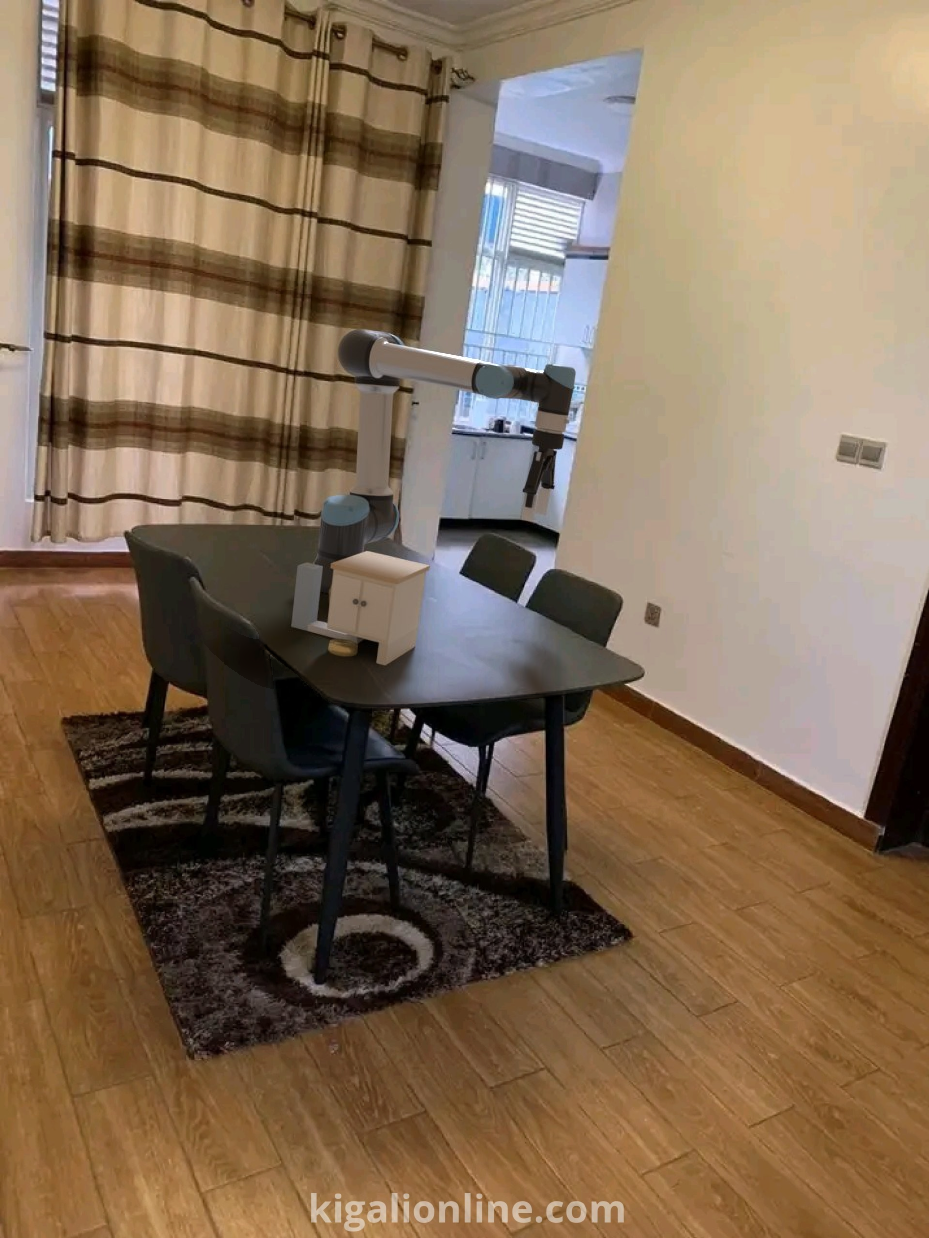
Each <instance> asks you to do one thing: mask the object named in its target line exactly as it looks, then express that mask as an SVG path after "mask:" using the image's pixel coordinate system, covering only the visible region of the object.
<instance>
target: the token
mask: <svg viewBox="0 0 929 1238" xmlns="http://www.w3.org/2000/svg"><path fill="white" fill-rule="evenodd" d="M358 647H359V643H356V642H354V641H351V640H347V639H336V638H332V639H331V640H329V643H328V652H329V653H330V654H332V655H334V656H338V657H345V658H347V657H355V656H357V654H358V649H359V648H358Z"/></svg>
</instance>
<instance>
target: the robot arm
mask: <svg viewBox="0 0 929 1238" xmlns="http://www.w3.org/2000/svg"><path fill="white" fill-rule="evenodd" d="M337 357H338V358H337V359H338V361H339V364H340V366H341V368H342V369H343V370H344V371H345V372H346V373H348V374H349V375H351V376H353V377H354V384H353V385H354V386H355V387H356V388H357V390H358V391H359V403H358V407H359V408H358V428H357V431H358V432H357V452H356V474H355V485H353V486H352V487H351V488H350V489H349V494H343V495H342V494H336V495H332V496H328V497H327V498H326V499H325V500H324V502H323V504H322V509H321V511H320V526H319V535H318V542H317V543H318V546H317V554H316V558H315V559H314V561H313V564H315V565H320V566H323V570H322V579H321V587H320V593H325V594H329V590H330V588H331V585H332V580H333V571H334V569H332V568H331V563H334V562H336V561H339V560H342V559H345V558H348V557H351V556H354V555H357V554H360V553H362V552H365V551H364V550H365V545H367V544H369V543H374V542H375V543H377V542H380V541H383V540H384V539H386V538H388V537H390V536H391V535H393V533H394V532H395V531H396V529H397V527H398V525H399V522H400V513H399V509H398V506H397V505H396V503H395V502H394V491H393V490H392V489H391V488H390V487H389V480H390V479H389V478H390V477H389V476H390V457H391V438H392V422H393V421H392V419H393V418H392V417H393V402H394V401H393V399H394V393H396V392H397V391H398V390H399V389H400V381H401V379H402V380H407V381H410V382H411V381H412V382H416V383H422V384H426V385H432V386H436V387H441V388H445V389H446V388H447V389H451V390H456V391H461V392H466V393H469V394H470V393H472V394H476V395H480V396H484V397H486V398H489V399H495V400H497V399H499V400H500V399H513V400H514V399H515V400H520V401H521V400H522V401H526V402H532V403H537V404H538V407H537V412H536V416H535V417H536V418H535V422H534V427H535V428H536V429H534V430H533V433H532V439H531V444H532V446H535V447H538V451H534V452H533V455H532V457H533V458H532V460H531V463H530V464H531V465H530V468H529V471H528V475H527V478H526V482H525V485H524V487H523V488H522V493H524V495H525V496H524V500H523V501H524V502H523V507H522V512H521V518H520V520H521V521H527V522H531V523H532V522H533V521H534V516H535V514H539V515H543V516H546V515H547V513H548V512H547V511H548V506H549V500H550V497H551V496H550V495H551V490H555V487H556V486H555V485H554V484H555V473H556V458H557V454H558V452H557V451H559V450H562V449H563V446H564V440H565V434H564V432H566V431H567V430H566V429H567V425H569V424H570V423H571V422H570V420H569V419H568V418H569V413H570V408H571V403H572V399H573V393H574V389H575V380H576V373H577V372H576V370H575V367H572V366H567V365H560V364H554V363H546V364H545V366H544V369H543V370H542V369H541V370H540V369H538V370H537V369H533V368H528V367H522V366H517V365H513V364H504V363H503V364H501V363H496V362H489V361H485V360H479V359H473V358H470V357H469V358H468V357H464V356H459V355H453V354H447V353H442V352H438V351H432V350H428V349H422V348H416V347H411V346H406V345H405V344H404V342H403V341H402V340H401V339H400V338H399V337H398V336H396V335H393V334H391V333H389V332H386V331H378V330H370V329H365V328H357V329H353V330H350V331H348V332H347V333H346V334H345V335H343V336H342V337H341V340H340V341H339V344H338V348H337ZM540 486H541V487H540ZM537 493H538V494H537Z"/></svg>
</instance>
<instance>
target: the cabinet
mask: <svg viewBox="0 0 929 1238" xmlns="http://www.w3.org/2000/svg"><path fill="white" fill-rule="evenodd" d="M430 566H431V565H430V564H425V563H420V562H417V561H412V560H407V559H403V558H398V557H396V556H391V555H388V554H387V555H386V554H382V553H378V552H373V551H369V550H366V551H364V552H362V553H360V554H357V555H354V556H351V557H348V558H345V559H342V560H339V561H336V562H334V563H331V568H332V569H334V571H333V580H332V588H331V597H330V605H329V606H328V617H327V622H326V623H327V629H330V630H334V631H338V632H341V633H345V634H349V635H353V636H357V637H360V638H364V639H365V640H368V641H371V642H375V643H378V648H377V657H376V664H379V665H381V666H387V665H389V664H390V663H392V662H393V661H395V660H396V659H398V658H399V657H401V656H403V655H404V654H406V653H407V652H409V651H410V650H412V649H413V648H415V647H416V643H417V637H418V629H419V623H420V616H421V609H422V601H423V596H424V589H425V588H424V587H425V581H426V575H427V572H428V571H430Z"/></svg>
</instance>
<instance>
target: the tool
mask: <svg viewBox="0 0 929 1238" xmlns="http://www.w3.org/2000/svg"><path fill="white" fill-rule="evenodd" d="M296 568H297V569H296V578H295V579H296V580H295V589H294V598H293V607H292V615H291V616H292V617H291V625H290V626H291V628H295V629H299V630H302V631H307V632H311V633H315V634H317V635H322V636H325V637H329V638H332V639H347V640H351V641H354V642H356V643H357V644H359V643H361V642H362V641H365V640H366V639H364V638H360V637H357V636H353V635H349V634H345V633H341V632H338V631H334V630H330V629H327V623H328V622H325V621H321V620H318V611H319V605H320V603H319V602H320V596H321V595H320V594H321V592H320V587H321V579H322V570H323V566H320V565H315V564H314V563H312V562H304V563H301V564H297V567H296Z"/></svg>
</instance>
